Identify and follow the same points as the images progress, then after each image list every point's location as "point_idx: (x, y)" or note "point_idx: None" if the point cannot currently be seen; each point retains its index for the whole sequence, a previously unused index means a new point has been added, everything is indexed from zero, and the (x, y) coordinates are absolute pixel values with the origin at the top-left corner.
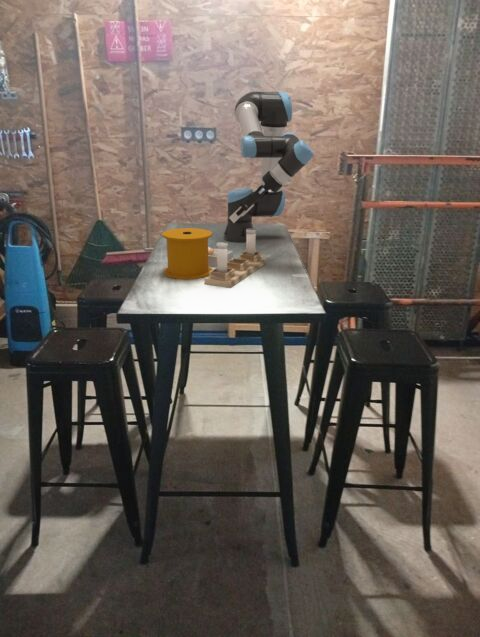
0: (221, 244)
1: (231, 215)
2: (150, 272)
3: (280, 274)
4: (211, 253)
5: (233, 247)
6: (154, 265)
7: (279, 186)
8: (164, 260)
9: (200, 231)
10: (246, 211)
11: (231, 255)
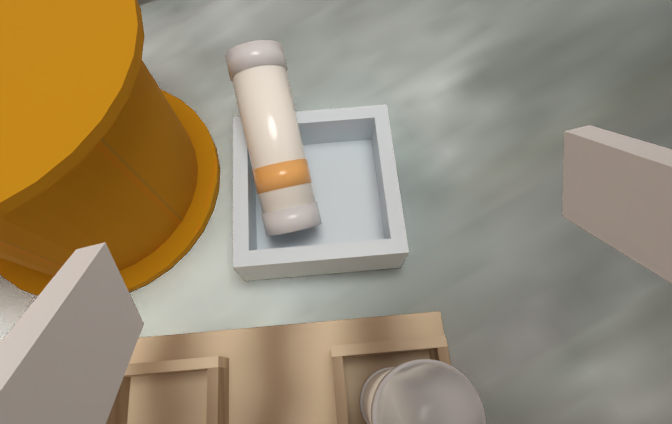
0: None
1: (57, 279)
2: None
3: None
4: (256, 187)
5: (642, 134)
6: (148, 19)
7: None
8: (236, 10)
9: (37, 94)
10: (629, 244)
11: (382, 260)
